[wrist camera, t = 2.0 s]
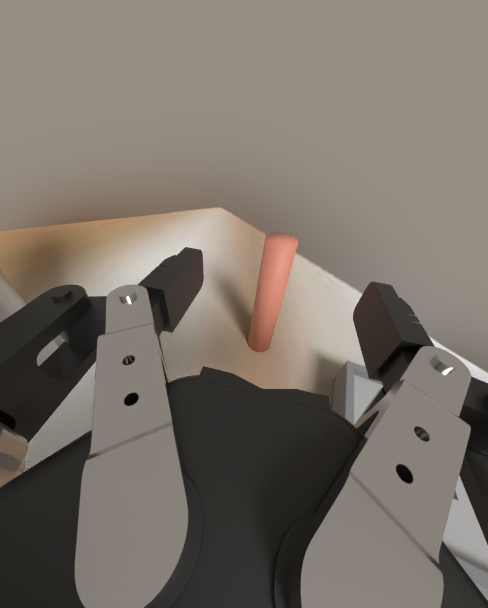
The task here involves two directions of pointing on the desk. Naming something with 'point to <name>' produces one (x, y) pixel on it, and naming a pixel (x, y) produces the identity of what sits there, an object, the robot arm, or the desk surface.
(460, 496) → the grey square hole base
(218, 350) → the desk surface
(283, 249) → the peg
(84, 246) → the desk surface
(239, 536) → the robot arm
